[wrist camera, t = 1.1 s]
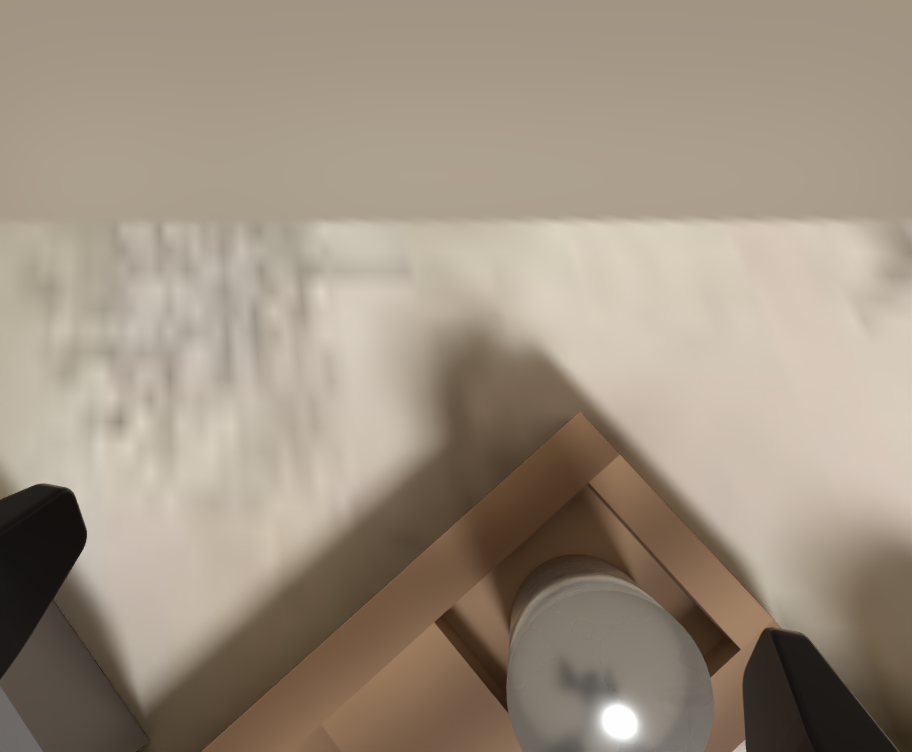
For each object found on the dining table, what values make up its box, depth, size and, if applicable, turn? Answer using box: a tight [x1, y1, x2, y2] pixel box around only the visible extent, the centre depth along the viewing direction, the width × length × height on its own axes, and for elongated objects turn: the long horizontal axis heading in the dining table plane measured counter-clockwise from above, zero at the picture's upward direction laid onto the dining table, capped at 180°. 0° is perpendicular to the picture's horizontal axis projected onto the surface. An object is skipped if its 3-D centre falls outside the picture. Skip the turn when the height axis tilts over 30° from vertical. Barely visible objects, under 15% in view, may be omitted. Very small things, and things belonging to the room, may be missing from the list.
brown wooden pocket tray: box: [201, 412, 782, 752], centre depth 20 cm, size 10×20×2 cm, turn 131°
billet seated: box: [507, 554, 714, 752], centre depth 17 cm, size 4×4×7 cm
